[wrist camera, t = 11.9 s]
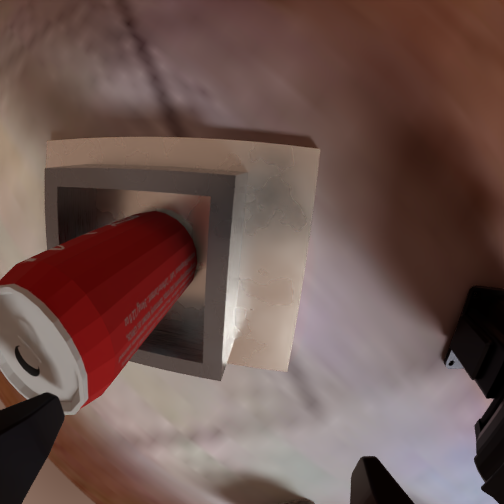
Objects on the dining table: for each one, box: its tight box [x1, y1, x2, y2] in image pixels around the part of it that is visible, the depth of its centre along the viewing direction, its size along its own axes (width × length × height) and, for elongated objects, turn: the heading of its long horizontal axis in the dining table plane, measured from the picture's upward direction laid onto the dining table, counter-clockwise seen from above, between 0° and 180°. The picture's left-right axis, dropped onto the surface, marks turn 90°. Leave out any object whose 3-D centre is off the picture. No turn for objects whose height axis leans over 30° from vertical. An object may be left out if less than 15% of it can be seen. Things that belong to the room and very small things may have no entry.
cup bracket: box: [45, 137, 320, 381], centre depth 18 cm, size 18×14×5 cm
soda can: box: [0, 211, 197, 415], centre depth 13 cm, size 6×6×12 cm
